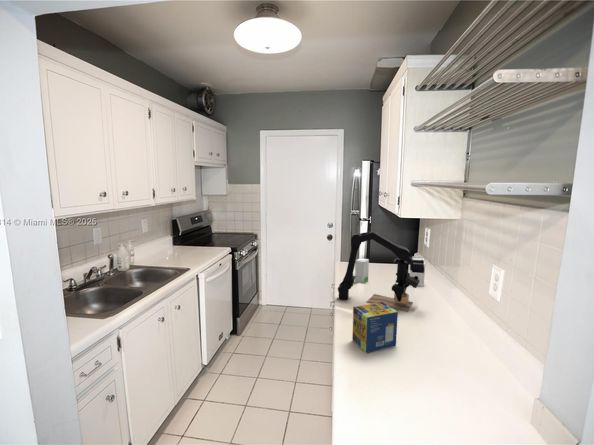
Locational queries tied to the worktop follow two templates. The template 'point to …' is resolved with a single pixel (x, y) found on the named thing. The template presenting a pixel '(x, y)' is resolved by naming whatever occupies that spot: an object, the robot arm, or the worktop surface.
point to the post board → (390, 302)
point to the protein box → (374, 326)
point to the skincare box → (361, 270)
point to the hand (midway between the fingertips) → (401, 299)
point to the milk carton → (420, 275)
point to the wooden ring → (403, 299)
